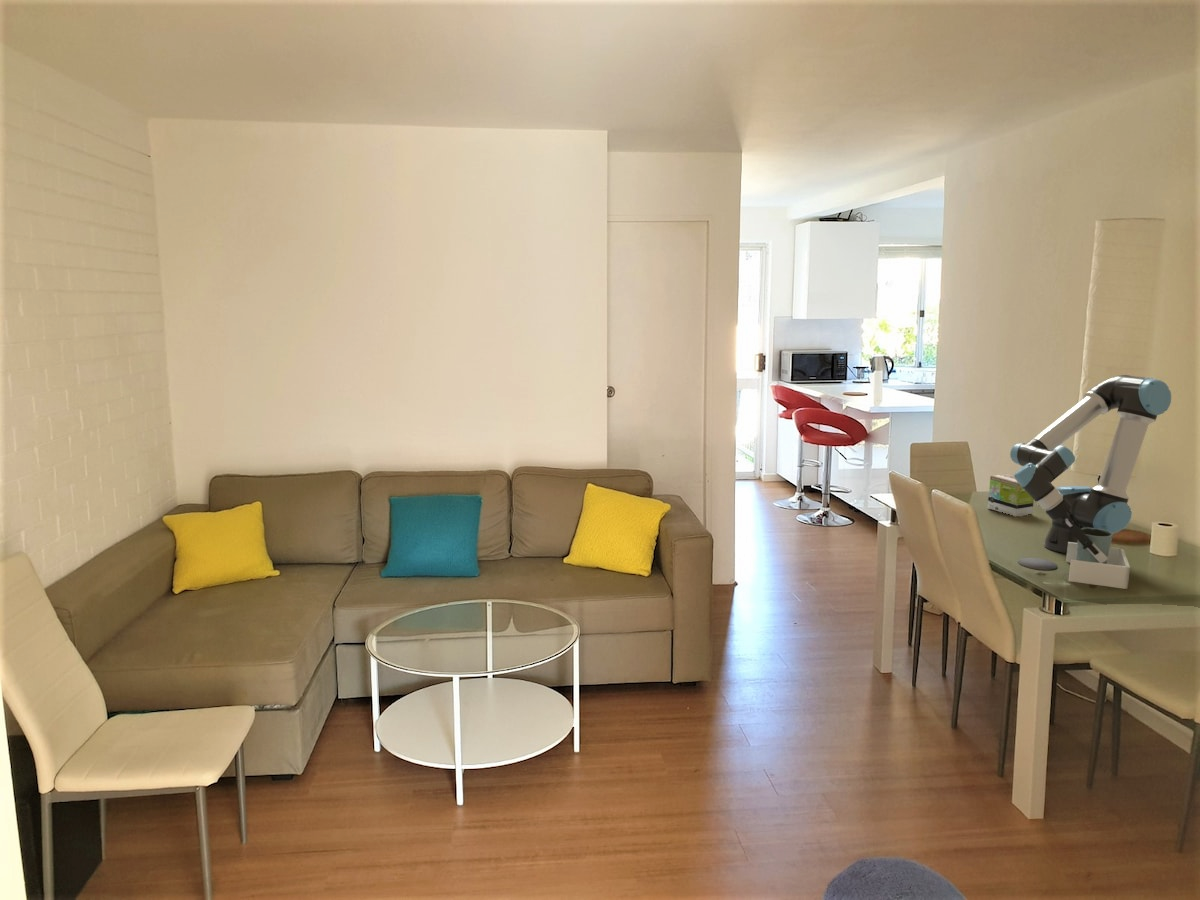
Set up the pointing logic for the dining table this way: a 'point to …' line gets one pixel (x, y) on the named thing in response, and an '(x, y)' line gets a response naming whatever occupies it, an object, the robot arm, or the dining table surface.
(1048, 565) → the coaster
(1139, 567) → the dining table surface
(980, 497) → the dining table surface
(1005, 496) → the tea box
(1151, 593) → the dining table surface
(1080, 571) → the open-front crate
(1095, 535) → the blue plant pot
